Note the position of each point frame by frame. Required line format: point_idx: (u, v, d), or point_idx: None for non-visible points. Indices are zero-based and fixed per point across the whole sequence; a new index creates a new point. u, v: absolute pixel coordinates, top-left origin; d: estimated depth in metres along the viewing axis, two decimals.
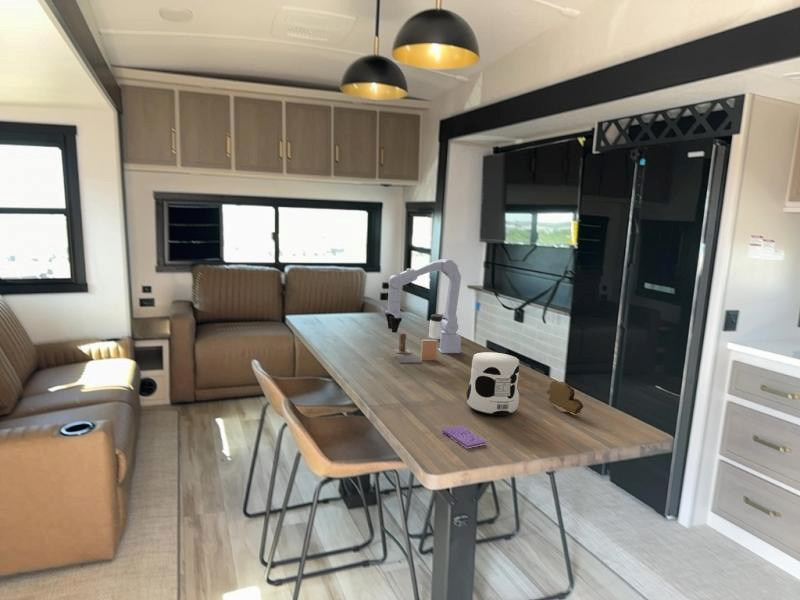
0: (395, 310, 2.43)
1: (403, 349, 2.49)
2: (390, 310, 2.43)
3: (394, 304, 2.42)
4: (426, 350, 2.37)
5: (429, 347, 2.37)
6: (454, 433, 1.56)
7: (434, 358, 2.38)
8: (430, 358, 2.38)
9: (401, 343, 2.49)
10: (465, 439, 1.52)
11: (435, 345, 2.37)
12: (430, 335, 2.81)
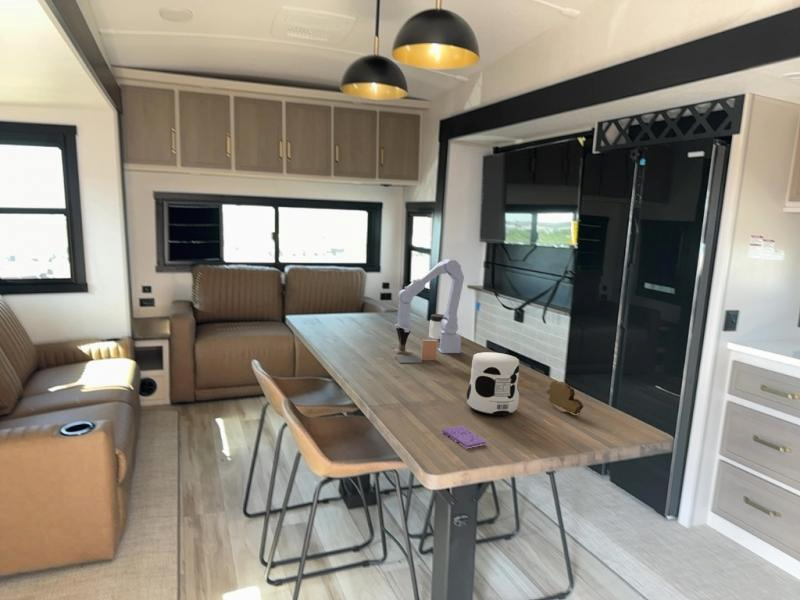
0: (405, 324, 2.46)
1: (403, 349, 2.49)
2: (400, 324, 2.46)
3: (404, 318, 2.45)
4: (426, 350, 2.37)
5: (429, 347, 2.37)
6: (454, 433, 1.56)
7: (434, 358, 2.38)
8: (430, 358, 2.38)
9: None
10: (465, 439, 1.52)
11: (435, 345, 2.37)
12: (430, 335, 2.81)
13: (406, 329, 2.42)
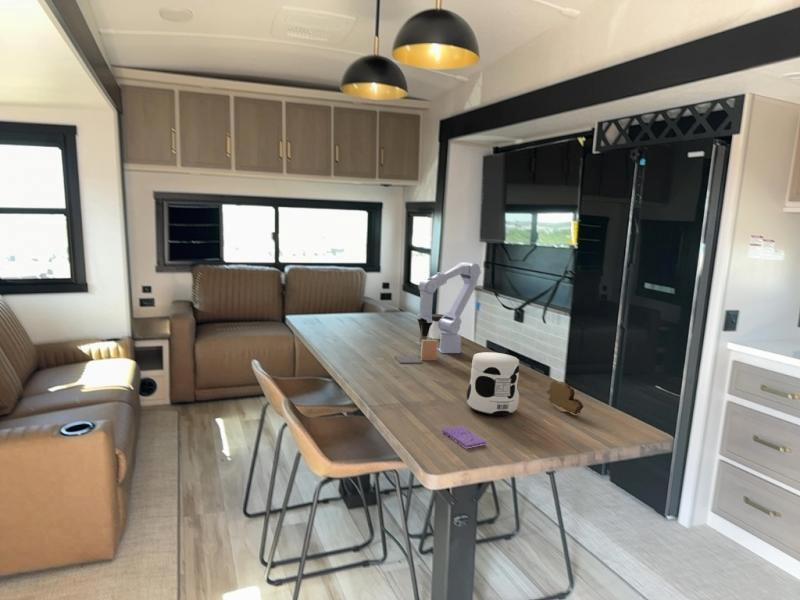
0: (427, 315, 2.41)
1: None
2: (422, 315, 2.42)
3: (426, 309, 2.41)
4: (426, 350, 2.37)
5: (429, 347, 2.37)
6: (454, 433, 1.56)
7: (434, 358, 2.38)
8: (430, 358, 2.38)
9: (422, 335, 2.44)
10: (465, 439, 1.52)
11: (435, 345, 2.37)
12: (430, 335, 2.81)
13: (429, 319, 2.37)
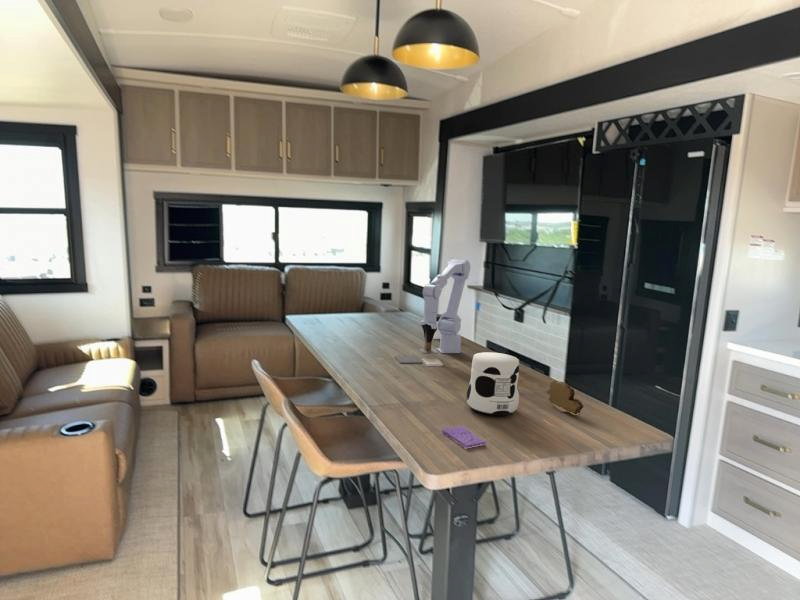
0: (432, 320, 2.35)
1: (429, 349, 2.38)
2: (426, 320, 2.35)
3: (431, 314, 2.34)
4: None
5: None
6: (454, 433, 1.55)
7: None
8: None
9: (427, 343, 2.38)
10: (464, 439, 1.51)
11: None
12: None
13: (433, 326, 2.31)
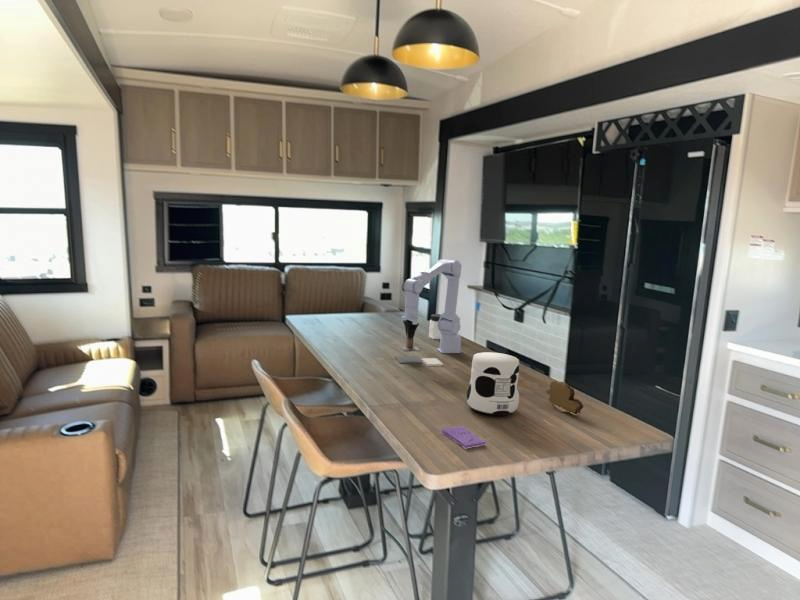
0: (413, 316, 2.29)
1: (411, 346, 2.33)
2: (407, 316, 2.30)
3: (412, 310, 2.29)
4: None
5: None
6: (454, 433, 1.55)
7: None
8: None
9: (409, 340, 2.32)
10: (464, 439, 1.51)
11: None
12: (430, 335, 2.81)
13: (414, 321, 2.25)
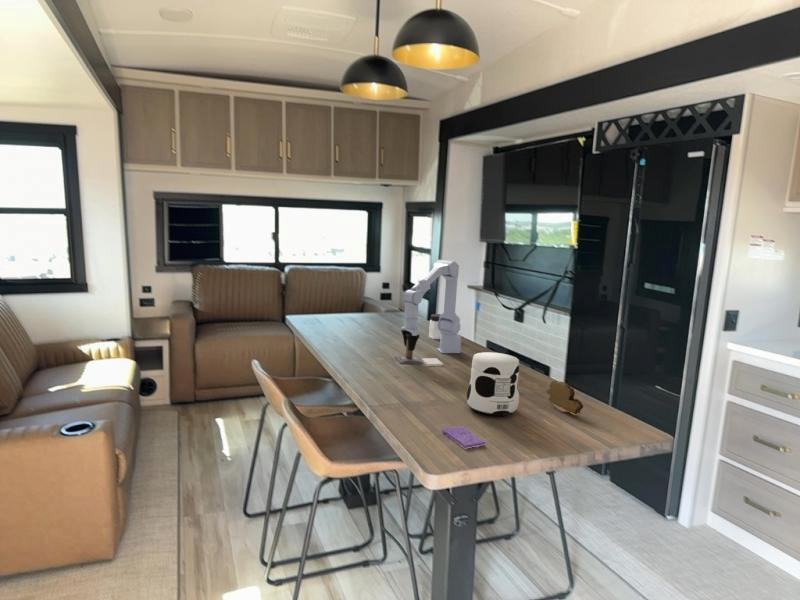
0: (412, 327, 2.30)
1: (410, 357, 2.34)
2: (407, 327, 2.30)
3: (411, 321, 2.29)
4: None
5: None
6: (453, 433, 1.55)
7: None
8: None
9: (408, 350, 2.33)
10: (464, 439, 1.51)
11: None
12: (430, 335, 2.81)
13: (413, 332, 2.26)
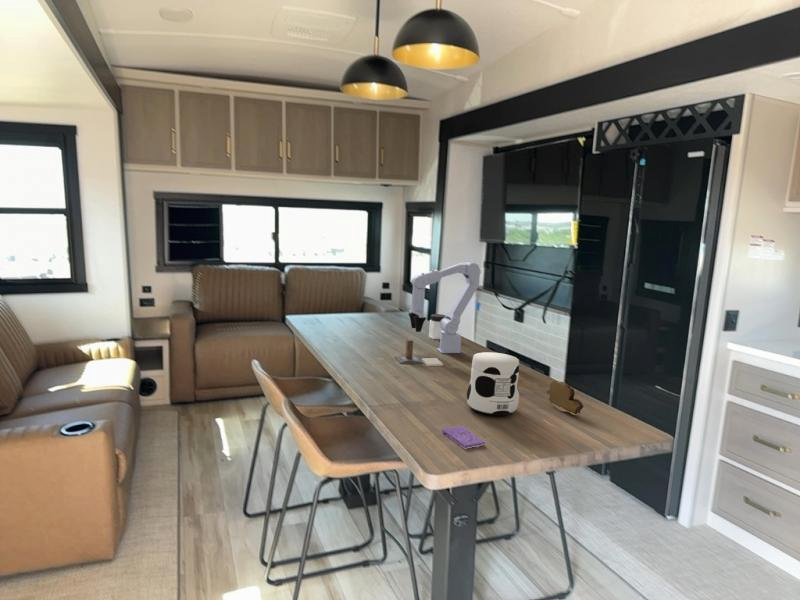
0: (419, 310, 2.45)
1: (410, 357, 2.34)
2: (414, 310, 2.46)
3: (418, 304, 2.45)
4: None
5: None
6: (453, 433, 1.55)
7: None
8: None
9: (408, 350, 2.33)
10: (464, 439, 1.51)
11: None
12: (430, 335, 2.81)
13: (420, 314, 2.41)
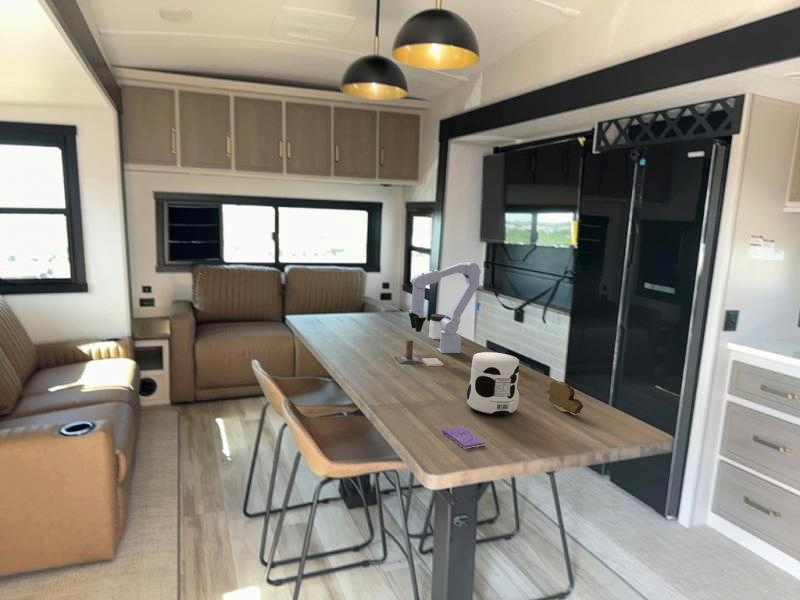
0: (419, 310, 2.45)
1: (410, 357, 2.34)
2: (414, 310, 2.46)
3: (418, 304, 2.45)
4: None
5: None
6: (453, 433, 1.55)
7: None
8: None
9: (408, 350, 2.33)
10: (463, 439, 1.51)
11: None
12: (430, 335, 2.81)
13: (420, 314, 2.41)
